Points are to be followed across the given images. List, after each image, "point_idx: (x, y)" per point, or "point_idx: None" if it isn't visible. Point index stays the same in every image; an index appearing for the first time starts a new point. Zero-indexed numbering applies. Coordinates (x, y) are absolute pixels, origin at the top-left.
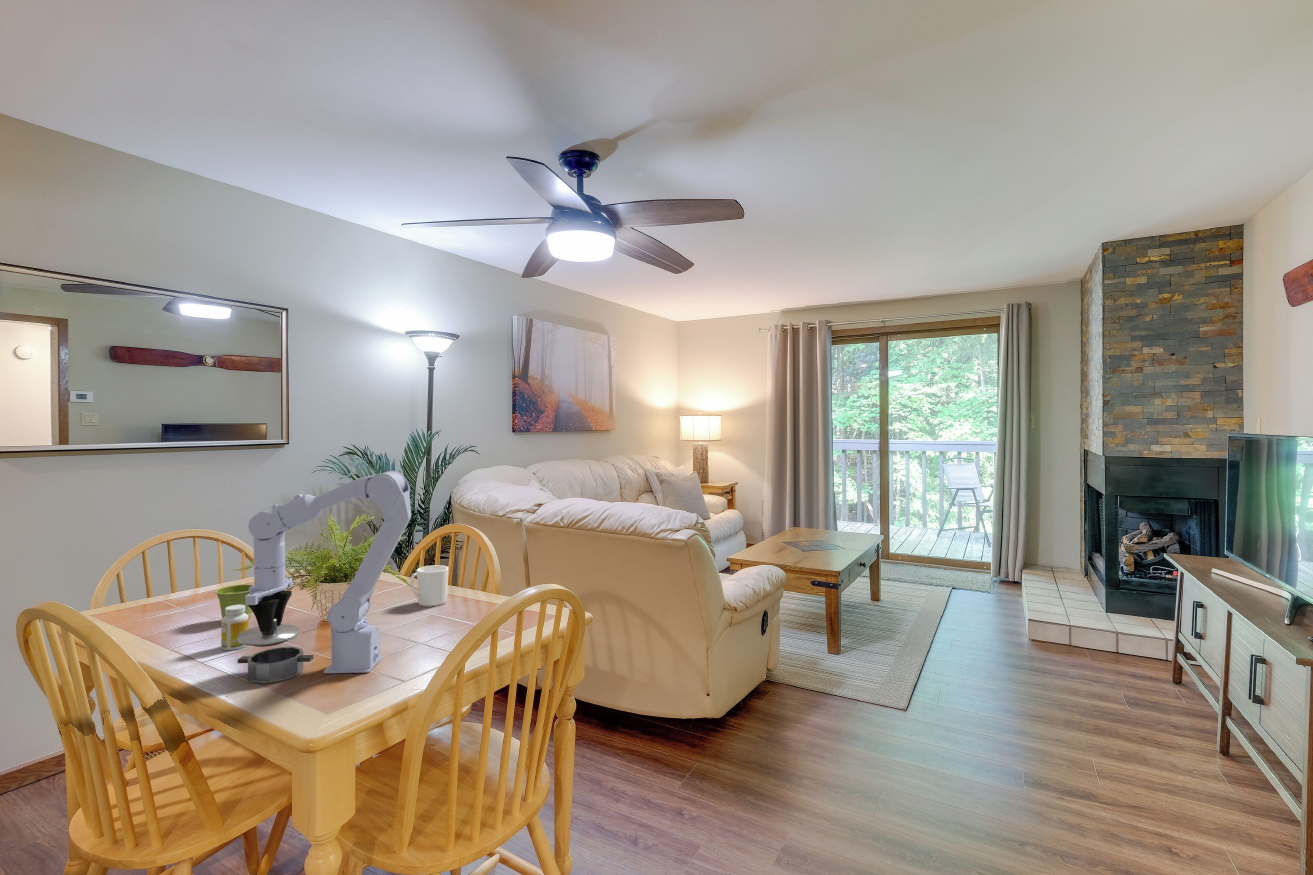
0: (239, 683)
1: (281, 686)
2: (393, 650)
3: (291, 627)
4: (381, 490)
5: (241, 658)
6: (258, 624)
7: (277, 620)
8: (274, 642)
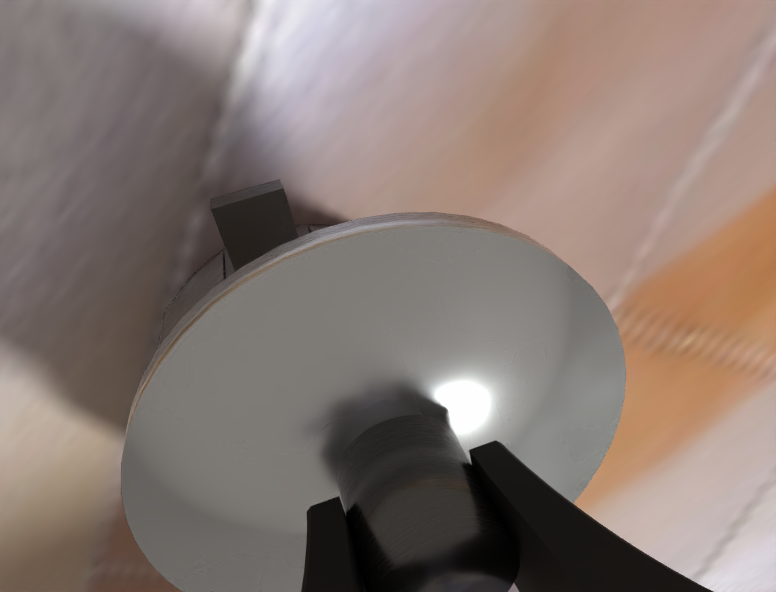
0: (122, 277)
1: None
2: None
3: (555, 486)
4: None
5: (239, 220)
6: (306, 572)
7: None
8: None
